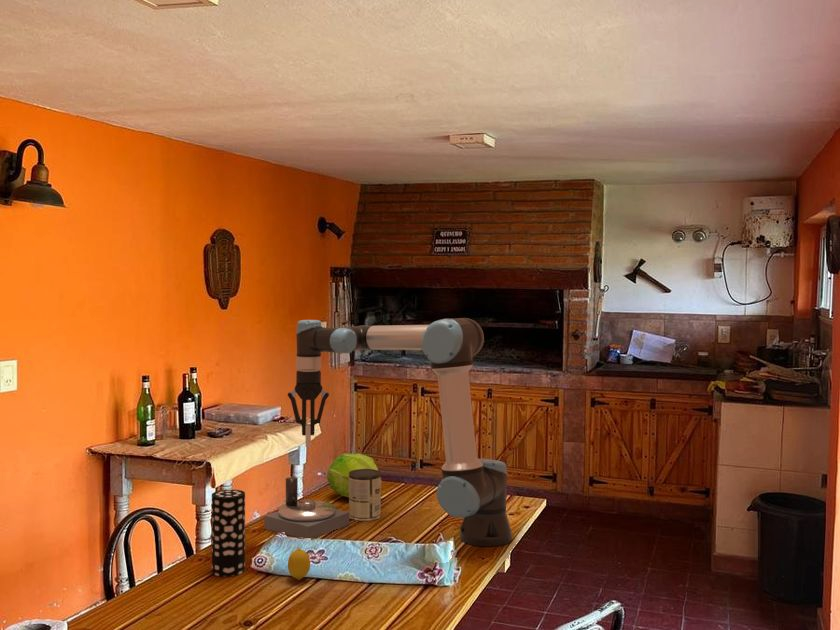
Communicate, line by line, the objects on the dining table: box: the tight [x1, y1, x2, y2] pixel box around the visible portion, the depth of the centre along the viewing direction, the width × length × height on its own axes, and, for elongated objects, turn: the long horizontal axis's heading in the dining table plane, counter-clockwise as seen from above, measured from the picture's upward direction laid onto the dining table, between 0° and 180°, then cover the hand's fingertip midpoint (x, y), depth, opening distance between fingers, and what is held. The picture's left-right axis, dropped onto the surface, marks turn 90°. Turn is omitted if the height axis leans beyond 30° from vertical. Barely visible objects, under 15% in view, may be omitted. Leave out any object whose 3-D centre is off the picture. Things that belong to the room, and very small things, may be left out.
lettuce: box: [326, 452, 383, 499], centre depth 276 cm, size 17×20×15 cm
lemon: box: [287, 548, 311, 581], centre depth 201 cm, size 6×6×8 cm
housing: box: [263, 508, 350, 539], centre depth 244 cm, size 18×18×4 cm
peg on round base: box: [278, 476, 336, 521], centre depth 243 cm, size 17×17×10 cm
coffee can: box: [348, 469, 382, 522], centre depth 255 cm, size 10×10×14 cm
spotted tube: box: [211, 489, 246, 577], centre depth 206 cm, size 8×8×20 cm
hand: (308, 445), depth 249 cm, fingers closed
